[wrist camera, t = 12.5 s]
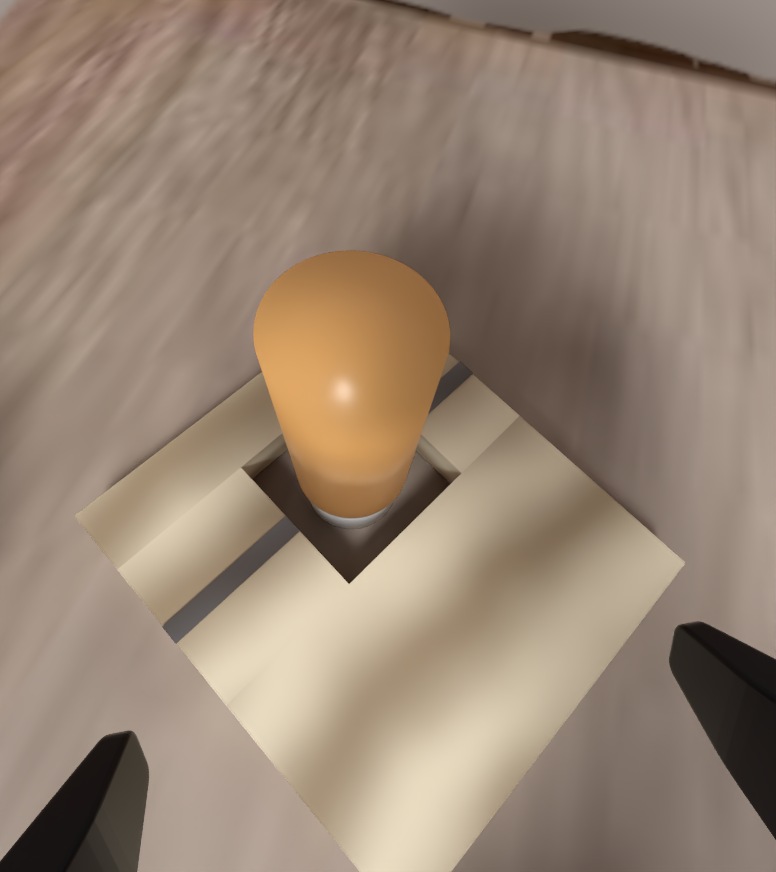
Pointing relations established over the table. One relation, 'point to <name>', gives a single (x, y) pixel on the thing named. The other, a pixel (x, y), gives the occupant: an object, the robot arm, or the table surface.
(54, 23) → the table surface
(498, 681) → the subfloor panel
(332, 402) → the orange rounded cylinder
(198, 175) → the table surface
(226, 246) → the table surface
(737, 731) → the robot arm
